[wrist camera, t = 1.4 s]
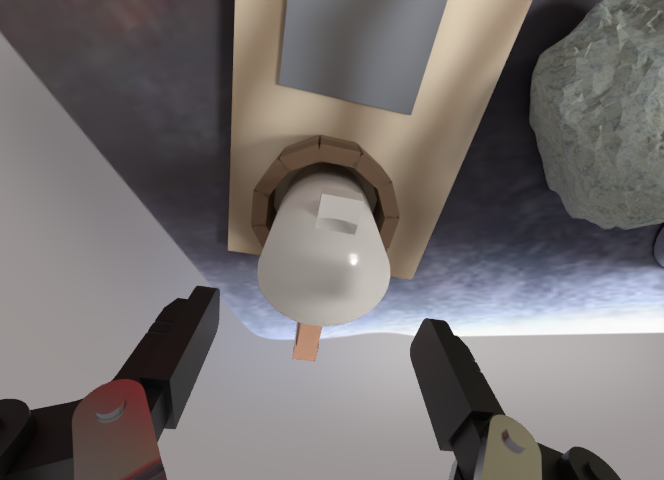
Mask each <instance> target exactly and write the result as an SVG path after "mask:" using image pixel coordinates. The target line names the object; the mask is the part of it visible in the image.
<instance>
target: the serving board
mask: <svg viewBox="0 0 664 480" xmlns="http://www.w3.org/2000/svg"><path fill="white" fill-rule="evenodd" d="M531 2H532V0H235V20H234V54H233V88H232V123H231V157H230V191H229V225H228V250H229V251H235V252H241V253H248V254H254V255H260V256H261V253H262V251H263V248H264V245H265V243H266V240H267V238H268V235H269V233H270V230H271V228H272V225H273V223H274V220H275V218H276V215H277V213H278V210H279V208H280V205H281V202H282V200H283V197H284V195H285V192H286V190H287V187H288V185H289V183H290V181H291V180H292V178H293V177H294V176H295V175H296V174H297V173H298V172H299V171H300V170H302V169H303V168H305V167H307V166H310V165H312V164H316V163H333V164H338V165H341V166H343V167H345V168H347V169H348V170H350V171H351V172H352V173H353V174H354V175H355V176H356V177H357V178H358V180H359V181H360V183H361V185H362V187H363V190H364V192H365V195H366V198H367V201H368V203H369V206H370V209H371V212H372V215H373V217H374V220H375V223H376V226H377V229H378V231H379V234H380V237H381V240H382V243H383V245H384V248H385V251H386V254H387V257H388V259H389V264H390V276H391V277H398V278H404V279H410V280H412V279H413V276H414V274H415V272H416V269H417V267H418V265H419V262H420V260H421V258H422V255H423V253H424V251H425V248H426V246H427V244H428V241H429V239H430V237H431V235H432V232H433V230H434V228H435V225H436V223H437V221H438V218H439V216H440V214H441V211H442V209H443V207H444V204H445V202H446V200H447V197H448V195H449V193H450V190H451V188H452V186H453V183H454V181H455V179H456V176H457V174H458V172H459V170H460V167H461V165H462V163H463V160H464V158H465V156H466V153H467V151H468V149H469V146H470V144H471V142H472V139H473V137H474V135H475V132H476V130H477V128H478V125H479V123H480V121H481V118H482V116H483V114H484V111H485V109H486V107H487V105H488V102H489V100H490V98H491V95H492V93H493V91H494V88H495V86H496V84H497V81H498V79H499V77H500V74H501V72H502V70H503V67H504V65H505V63H506V60H507V58H508V56H509V53H510V51H511V49H512V47H513V44H514V42H515V40H516V37H517V35H518V33H519V30H520V28H521V26H522V23H523V21H524V19H525V16H526V14H527V12H528V9H529V7H530V5H531Z"/></svg>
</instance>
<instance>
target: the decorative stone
mask: <svg viewBox="0 0 664 480" xmlns="http://www.w3.org/2000/svg"><path fill="white" fill-rule="evenodd" d="M530 98H531V100H530V116H529V123H530V125H531V127H532V129H533V131H534V132H535V134H536V141H537V146H538V150H539V153H540V155H541V158H542V161H543V169H544V173H545V178H546V181H547V184H548V186H549V189H550V190H553V191H555V192H556V193H558V194H559V196H560V198H561V199H562V203H563V204H564V207H565V209H566V211H567V212H568V214H569V215H570V217H572V218H580V219H586V220H588V221H590V222H592V223H595V224H597V225H598V226H600V227H601V228H602V229H611V228H613V227H616V226H617V227H620V228H622V229H624V230H627V229H633V228H638V227H643V226H647V225H653V224H660V223H662V222H664V0H600V1H599V2H598V3H597V4H595V6H594V7H593V8H592V9H591V10H590V11H589V12H588V13H587V14H586V16H585V18H584V19H583V20H582V21H581V22H580V24H579V25H578V26H577V27H576V28H575V29H574V30H573V31H572V32H571V33H570V34H569V35H568V36H566V37H565V38H563V39H562V40H560V41H559V42H557V43H556V44H555V45H553V46H551V47H550V48H548V49H547V50H545V51H544V52H543V53H542V54H541V55H539V59H538V61H537V64H536V66H535V68H534V72H533V75H532V81H531V90H530Z"/></svg>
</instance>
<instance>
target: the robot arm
mask: <svg viewBox="0 0 664 480" xmlns="http://www.w3.org/2000/svg"><path fill="white" fill-rule="evenodd" d="M654 255H655V258H656V260H657V262H658V263H659V264H660V265H661V266H663V267H664V227H663V228H662V229H661V231H660V233H659V235H658V237H657V239H656V243H655V246H654ZM219 300H220V291H219V289H218V288H211V287H204V286H196V288H195V289H194V290H193V292H192V293H191V295H190V297H189V298H188V299H181V298H177V299H176V300H174V301H173V302H172V303H171V304H169V305H167V306H166V307H164V309H163V310H162V312H161V313H160V314H159V316H158V317H157V319H156V320H155V323H153V324H152V326H151V327H150V329H149V330H148V333H146V334H145V336H144V337H143V339H142V340H141V341H140V343H139V344H138V346H137V347H136V348H135V350H134V351H133V353H132V354H131V355H130V357H129V358H128V360H127V361H126V362H125V364H124V365H123V367H122V368H121V370H120V371H119V372H118V374H117V375H116V376H115V378H114V379H113V380H112V381H111V382H108V383H106V384H103V385H101V386H100V387H98V388H96V389H95V390H93V391H92V392H90V393H89V394H88V395H87V396H86V397H85V398H83V399H80V400H77V401H74V402H70V403H64V404H59V405H54V406H50V407H44V408H39V409H34V410H30V409H29V408H28V406H27V405H26V403H24V402H23V401H20V400H17V399H3V400H0V480H167V478H166V474H165V470H164V467H163V464H162V461H161V456H160V452H159V448H158V444H157V442H158V440H159V438H160V436H161V434H162V431H163V429H164V428H166V429H176V427H177V424H178V422H179V419H180V417H181V415H182V412H183V410H184V408H185V405H186V403H187V401H188V398H189V396H190V394H191V391H192V389H193V387H194V384H195V382H196V380H197V377H198V375H199V372H200V370H201V368H202V365H203V363H204V361H205V358H206V356H207V354H208V351H209V349H210V347H211V344H212V342H213V339H214V337H215V335H216V332H217V328H218V324H219V303H220V302H219ZM410 357H411V361H412V364H413V367H414V370H415V373H416V377H417V380H418V383H419V386H420V389H421V392H422V395H423V399H424V402H425V405H426V408H427V411H428V414H429V417H430V420H431V423H432V426H433V430H434V432H435V436H436V439H437V442H438V445H439V448H440V450H443V451H453V452H454V454H455V457H456V460H455V461H454V462H453V465H452V468H451V473H450V476H449V480H621V479H620V478H619V476H618V475H617V474H616V473H615V472H614V470H613V469H612V468H611V467H610V466H609V465H608V464H607V463H606V462H605V461H603V460H602V459H601V458H600V457H598V456H597V455H595V454H594V453H592V452H591V451H589V450H587V449H584V448H582V447H573V448H571V449H570V450H569V451H567V452H566V453H565V454H563V453H560V452H558V451H556V450H553V449H551V448H549V447H546V446H544V445H542V444H539V443H537V442H536V441H535V439H534V438H533V436H532V435H531V434H530V433H529V431H528V430H527V429H526V428H525V427H524V426H523V425H521V424H520V423H519V422H517V421H516V420H514V419H513V418H511V417H508V416H506V415H505V413H504V411H503V410H502V408H501V406H500V404H499V402H498V401H497V399H496V398H495V395H494V393H493V392H492V390H491V388H490V386H489V384H488V383H487V381H486V379H485V377H484V375H483V374H482V373H481V372H480V368H479V366H478V365H477V363H476V362H475V359H474V358H473V355H472V354H471V352H470V350H469V348H468V347H467V346H466V345H465V344H464V343H463V341H462V340H461V339H460V338H459V337H458V336H455V335H453V333H452V331H451V329H450V327H449V325H448V323H447V322H446V321H443V320H435V319H428V318H426V319H424V320H423V322H422V324H421V326H420V328H419V330H418V332H417V334H416V336H415V338H414V340H413V342H412V344H411V348H410Z"/></svg>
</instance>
